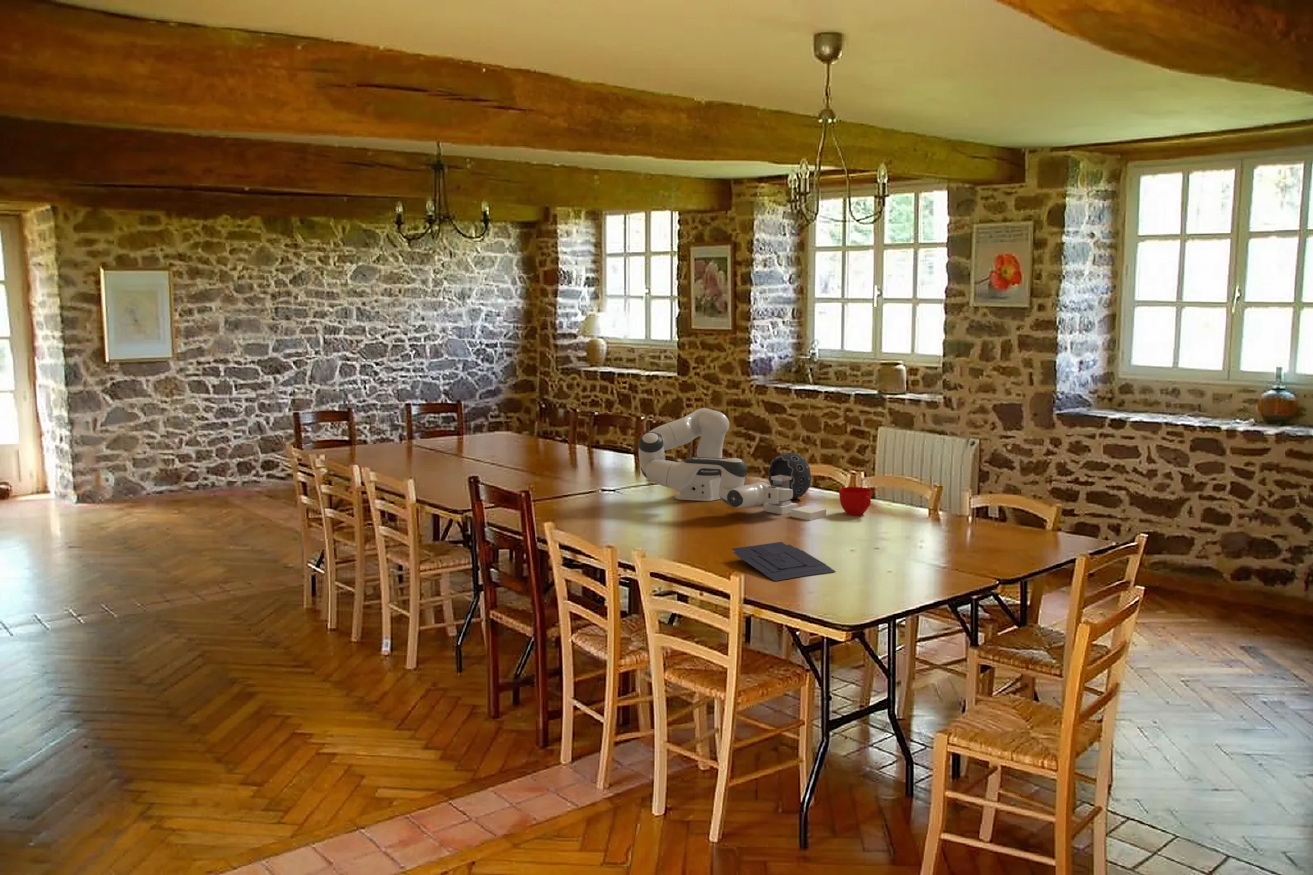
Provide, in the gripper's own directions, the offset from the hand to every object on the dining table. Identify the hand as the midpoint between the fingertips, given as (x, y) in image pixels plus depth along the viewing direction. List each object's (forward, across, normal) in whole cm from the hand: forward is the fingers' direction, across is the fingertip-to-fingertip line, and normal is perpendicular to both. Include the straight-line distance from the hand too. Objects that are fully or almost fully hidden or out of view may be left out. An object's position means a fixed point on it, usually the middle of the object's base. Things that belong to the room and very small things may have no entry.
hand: (782, 488), depth 434 cm
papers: (-67, +56, -10) cm, 88 cm away
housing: (-1, 0, -6) cm, 6 cm away
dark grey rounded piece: (+21, -14, -10) cm, 27 cm away
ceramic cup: (+16, +27, -10) cm, 32 cm away
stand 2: (-1, +15, -9) cm, 18 cm away
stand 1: (-1, 0, -9) cm, 9 cm away
